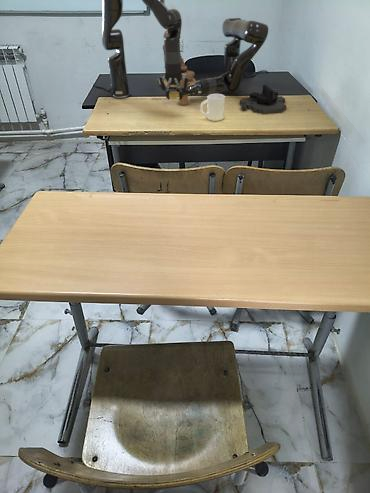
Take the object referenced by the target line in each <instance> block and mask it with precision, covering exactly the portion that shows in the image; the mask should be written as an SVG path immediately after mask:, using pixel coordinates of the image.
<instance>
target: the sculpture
mask: <svg viewBox="0 0 370 493" xmlns="http://www.w3.org/2000/svg"><path fill="white" fill-rule="evenodd" d="M166 35H167V30H166V29H165V31H164V33H163V39H164V38H165V36H166ZM180 39H181V36H180ZM162 50H163V61H164V63H165V47H164V44H163V45H162ZM182 56H183V55H181V73H185V74H187V77H188V83H190V85H192V84H196V83H197V81H198V80H197V79H195V76H196V74H195V72H194V71H192V70H188V66H187V65H186V64H185V60H184V58H183V57H182ZM165 74H166V73H164V75H165ZM157 80H158V84H159V86H161V84H160V80H159V78H158V79H157ZM164 84H165V87H166V88H167V84H168V82H167V80H166V79H165V80H164ZM170 88H176V89H177V88H178V87H177V85H170Z"/></svg>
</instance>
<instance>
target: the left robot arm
mask: <svg viewBox="0 0 370 493" xmlns="http://www.w3.org/2000/svg"><path fill="white" fill-rule="evenodd" d="M141 1H142V3H143V4H144V5H145V6H146V7H147V8H148V9H149V10H150V11H151V12H152V14H153V16H154V17H155V19H156V20H157V22H158V24H159V25H160V26H161V27H162V28H163V29H165V31H166V30H167V35H166V36H165V38H164V37H163V43H164V44H163V45H164V47H165V62H164V71H165V73H166V74H165V73H164V75H161V76H160V77H159V78H158V79H159V80H160V84H161V85H160V87H161V90H162V91H164V92H165V98H166V99H167V101H170V99H171V98H170V97H169V93H170V92H171V91H170V88H171V87H170V85H177V87H176V88H178V89H179V91H180V92H179V99H178V100H179V101H180V100H181V99H182V98H183V91H185V90H186V88H187V82H188V77H184V76H182V73H181V56H182V52H181V41H180V40H181V38H180V37H181V34H182V33H181V32H182V24H183V20H182V15H181V13H180V11H179V10H178V9H176V8H171V9H169V8H168V7H167V6H166V1H165V0H141ZM123 10H124V0H102V27H101V28H102V29H101V43H102V47H103V49H104V50H106V51H116V52H115V53H114V54H112V55H110V56H109V57H108V58H107V64H108V70H109V75H110V88H109V89H108V88H106V87H104V86H99V85H97V84H96V83H95V82H94V83H93V84H92V86H94V87H96V88H99V89H104V90H105V91H107V92H110V91H112V97H113V98H114V99H125V98H128V97H130V90H129V89H130V88H129V82H128V81H129V79H128V74H127V66H126V65H127V64H126V56H125V43H124V41H125V40H124V36H123V32H122V30H121V29H119V28H116V29H113V28H114V27H115V26H116V25H117V23H118V22H119V21H120V19H121V17H122V15H123ZM165 79H166V80H167V82H168V84H167V87H165V84H164V80H165ZM181 79H183V81H184V87H183V88H182V86H181V83H180V81H181ZM159 80H158V81H159Z"/></svg>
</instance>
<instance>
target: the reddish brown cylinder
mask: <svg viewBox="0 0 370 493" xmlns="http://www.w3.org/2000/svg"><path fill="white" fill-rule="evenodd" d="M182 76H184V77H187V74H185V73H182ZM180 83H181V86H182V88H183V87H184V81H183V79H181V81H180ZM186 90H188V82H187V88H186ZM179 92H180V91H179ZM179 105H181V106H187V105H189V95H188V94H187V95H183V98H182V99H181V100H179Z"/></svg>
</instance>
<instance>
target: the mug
mask: <svg viewBox="0 0 370 493" xmlns="http://www.w3.org/2000/svg"><path fill="white" fill-rule="evenodd" d="M206 98H207V99H204V100H203V101H202V102H201V103H200V104H199V111H200V113H201V115H203V116H206V118H207V119H208V120H209V121H213V122H218V121H222V120H223V119H224V118H225V103H226V102H225V101H226V96H225V94H222V93H209V94H207V96H206ZM204 105H206V106H207V107H206V112H205V111H204V108H203V107H204Z"/></svg>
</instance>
